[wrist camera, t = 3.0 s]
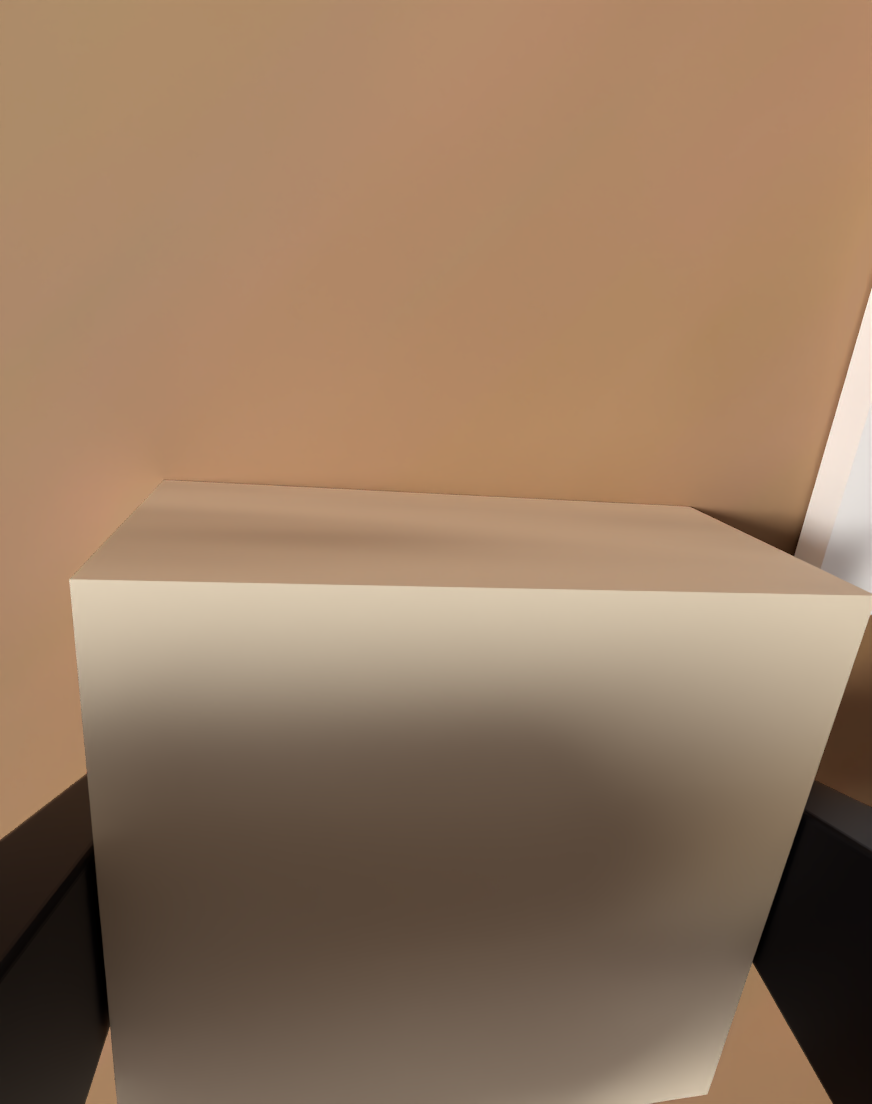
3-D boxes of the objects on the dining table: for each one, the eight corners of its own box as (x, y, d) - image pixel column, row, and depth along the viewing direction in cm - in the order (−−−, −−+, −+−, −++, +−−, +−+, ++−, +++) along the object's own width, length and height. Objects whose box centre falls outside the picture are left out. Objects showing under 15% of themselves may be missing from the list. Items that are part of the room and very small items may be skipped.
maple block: (601, 890, 10) (707, 1094, 8) (181, 925, 9) (125, 1186, 6) (688, 506, 8) (876, 595, 6) (162, 479, 7) (69, 580, 4)
